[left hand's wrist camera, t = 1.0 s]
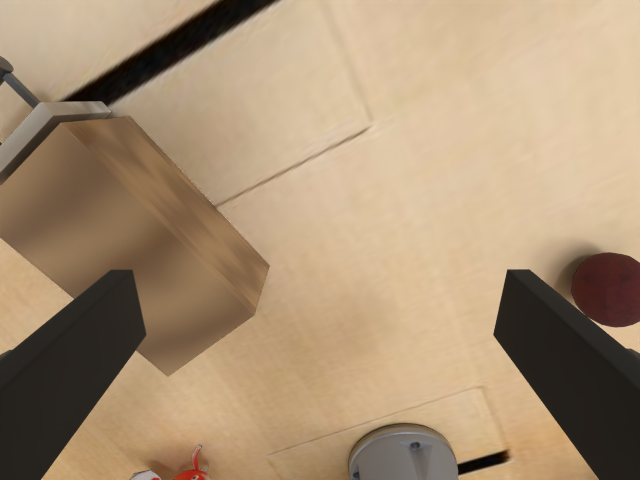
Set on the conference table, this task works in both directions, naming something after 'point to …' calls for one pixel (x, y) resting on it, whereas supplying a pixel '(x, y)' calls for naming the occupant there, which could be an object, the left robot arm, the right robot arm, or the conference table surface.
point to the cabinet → (132, 234)
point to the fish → (186, 479)
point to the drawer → (38, 122)
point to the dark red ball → (608, 289)
